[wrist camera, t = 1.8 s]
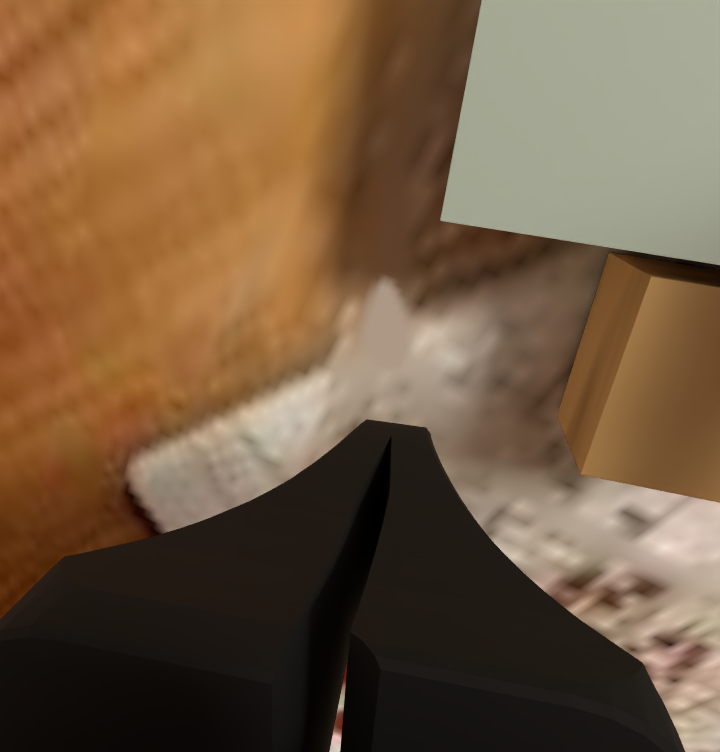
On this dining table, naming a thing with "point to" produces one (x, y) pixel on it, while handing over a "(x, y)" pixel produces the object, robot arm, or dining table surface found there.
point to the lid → (593, 125)
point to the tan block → (649, 379)
